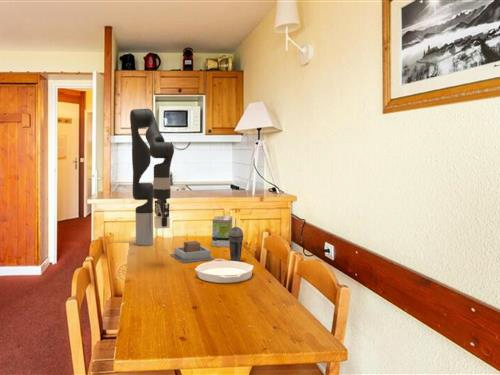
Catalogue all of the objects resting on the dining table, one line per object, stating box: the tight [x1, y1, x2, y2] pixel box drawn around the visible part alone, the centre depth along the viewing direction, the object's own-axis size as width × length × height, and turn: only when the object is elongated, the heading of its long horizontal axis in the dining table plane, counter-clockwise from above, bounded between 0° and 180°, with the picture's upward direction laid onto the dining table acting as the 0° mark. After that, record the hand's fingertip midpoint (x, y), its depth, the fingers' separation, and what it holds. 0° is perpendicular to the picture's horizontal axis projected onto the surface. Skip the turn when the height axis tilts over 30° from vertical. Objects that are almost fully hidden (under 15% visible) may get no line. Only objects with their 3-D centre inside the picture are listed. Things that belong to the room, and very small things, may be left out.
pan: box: [194, 258, 255, 284], centre depth 180 cm, size 24×27×4 cm
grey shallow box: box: [169, 245, 216, 264], centre depth 210 cm, size 18×16×4 cm
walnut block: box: [183, 240, 201, 253], centre depth 210 cm, size 6×6×6 cm
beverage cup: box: [228, 217, 245, 262], centre depth 205 cm, size 7×7×20 cm
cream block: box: [153, 215, 171, 229], centre depth 196 cm, size 6×6×4 cm
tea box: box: [211, 215, 233, 248], centre depth 241 cm, size 15×10×15 cm
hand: (161, 225), depth 196 cm, fingers closed on cream block, 6 cm apart
